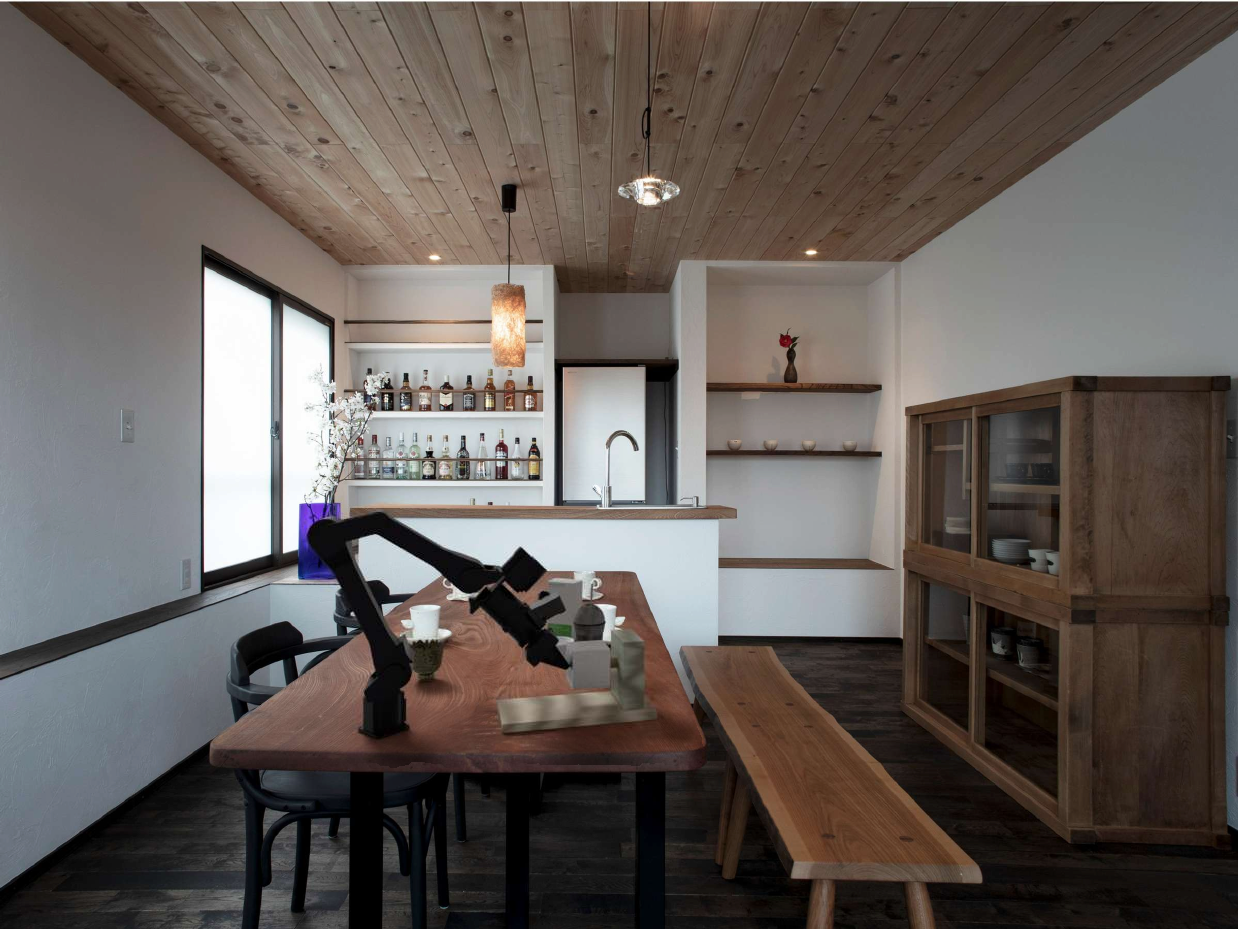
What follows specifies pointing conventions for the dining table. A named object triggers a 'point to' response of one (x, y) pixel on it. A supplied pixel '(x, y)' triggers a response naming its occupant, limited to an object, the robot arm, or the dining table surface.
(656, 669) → the dining table surface
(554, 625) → the skincare box
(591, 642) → the grey cube
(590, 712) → the l-shaped wooden stand
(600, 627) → the beverage cup
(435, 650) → the cup
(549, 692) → the dining table surface
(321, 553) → the robot arm
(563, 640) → the ramekin
